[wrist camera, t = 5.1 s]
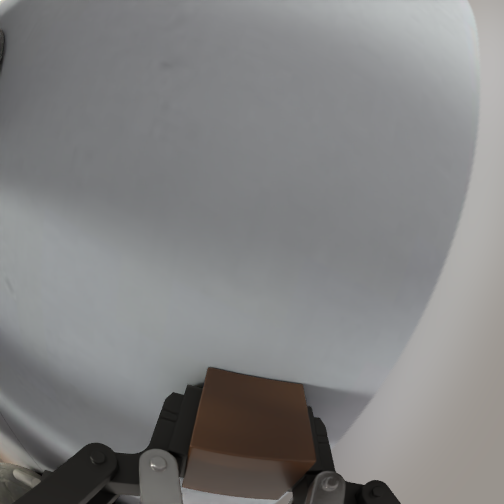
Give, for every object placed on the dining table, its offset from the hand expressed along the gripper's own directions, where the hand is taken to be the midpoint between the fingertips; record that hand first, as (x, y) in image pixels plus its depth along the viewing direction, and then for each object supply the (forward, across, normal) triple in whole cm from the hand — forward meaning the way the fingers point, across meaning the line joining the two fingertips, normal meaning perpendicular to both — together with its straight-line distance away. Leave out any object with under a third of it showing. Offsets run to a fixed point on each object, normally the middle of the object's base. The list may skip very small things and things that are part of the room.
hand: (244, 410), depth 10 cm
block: (0, 0, 0) cm, 0 cm away
